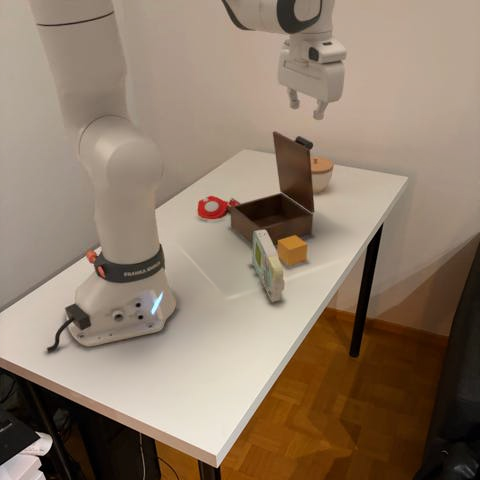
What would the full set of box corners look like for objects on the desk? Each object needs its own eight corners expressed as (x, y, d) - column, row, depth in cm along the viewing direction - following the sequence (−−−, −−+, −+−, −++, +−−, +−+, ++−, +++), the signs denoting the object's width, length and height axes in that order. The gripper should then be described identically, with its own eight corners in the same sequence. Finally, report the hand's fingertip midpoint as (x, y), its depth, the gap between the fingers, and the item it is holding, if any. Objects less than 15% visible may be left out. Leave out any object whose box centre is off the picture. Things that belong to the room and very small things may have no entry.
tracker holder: (204, 221, 128) (189, 199, 133) (207, 232, 132) (192, 210, 137) (244, 202, 130) (228, 181, 135) (246, 214, 134) (230, 193, 139)
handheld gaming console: (269, 310, 104) (250, 266, 113) (282, 308, 104) (262, 264, 114) (273, 271, 95) (252, 227, 105) (286, 269, 96) (264, 225, 106)
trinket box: (294, 181, 150) (296, 151, 144) (329, 181, 149) (332, 151, 143) (296, 196, 141) (297, 165, 136) (332, 196, 141) (336, 165, 135)
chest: (259, 253, 118) (259, 230, 114) (230, 228, 128) (230, 206, 124) (311, 236, 123) (313, 214, 119) (280, 213, 133) (281, 192, 129)
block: (288, 268, 112) (289, 249, 109) (276, 258, 116) (277, 240, 113) (306, 262, 114) (307, 244, 111) (294, 252, 118) (295, 234, 114)
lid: (307, 150, 108) (325, 142, 109) (272, 132, 118) (289, 124, 119) (312, 213, 119) (328, 205, 120) (280, 191, 129) (295, 184, 130)
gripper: (271, 39, 108) (270, 104, 117) (326, 55, 94) (320, 128, 103) (294, 36, 110) (292, 100, 119) (352, 51, 96) (344, 123, 105)
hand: (305, 113), depth 111 cm, fingers open, 8 cm apart
